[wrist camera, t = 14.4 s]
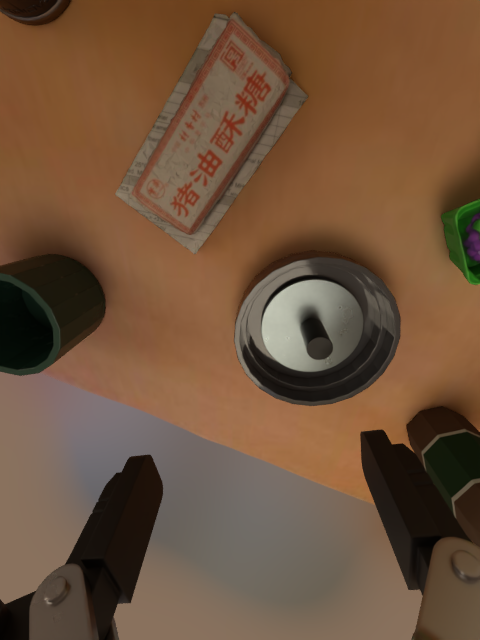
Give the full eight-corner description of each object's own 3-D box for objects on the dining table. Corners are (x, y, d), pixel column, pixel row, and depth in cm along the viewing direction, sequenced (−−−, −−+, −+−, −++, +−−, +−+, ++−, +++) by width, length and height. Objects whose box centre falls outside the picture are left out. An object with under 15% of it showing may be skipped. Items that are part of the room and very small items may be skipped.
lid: (253, 285, 34) (252, 303, 28) (358, 268, 32) (379, 283, 27) (268, 372, 38) (270, 402, 32) (362, 360, 37) (381, 390, 31)
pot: (4, 262, 35) (-76, 282, 27) (86, 246, 34) (30, 261, 25) (41, 342, 39) (-18, 381, 31) (117, 330, 38) (77, 368, 29)
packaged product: (212, -24, 21) (316, 79, 23) (220, 15, 26) (307, 99, 27) (97, 194, 27) (187, 262, 29) (120, 195, 32) (197, 254, 33)
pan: (224, 264, 34) (219, 273, 29) (382, 237, 32) (401, 242, 27) (250, 390, 40) (249, 413, 36) (384, 374, 38) (399, 396, 34)
